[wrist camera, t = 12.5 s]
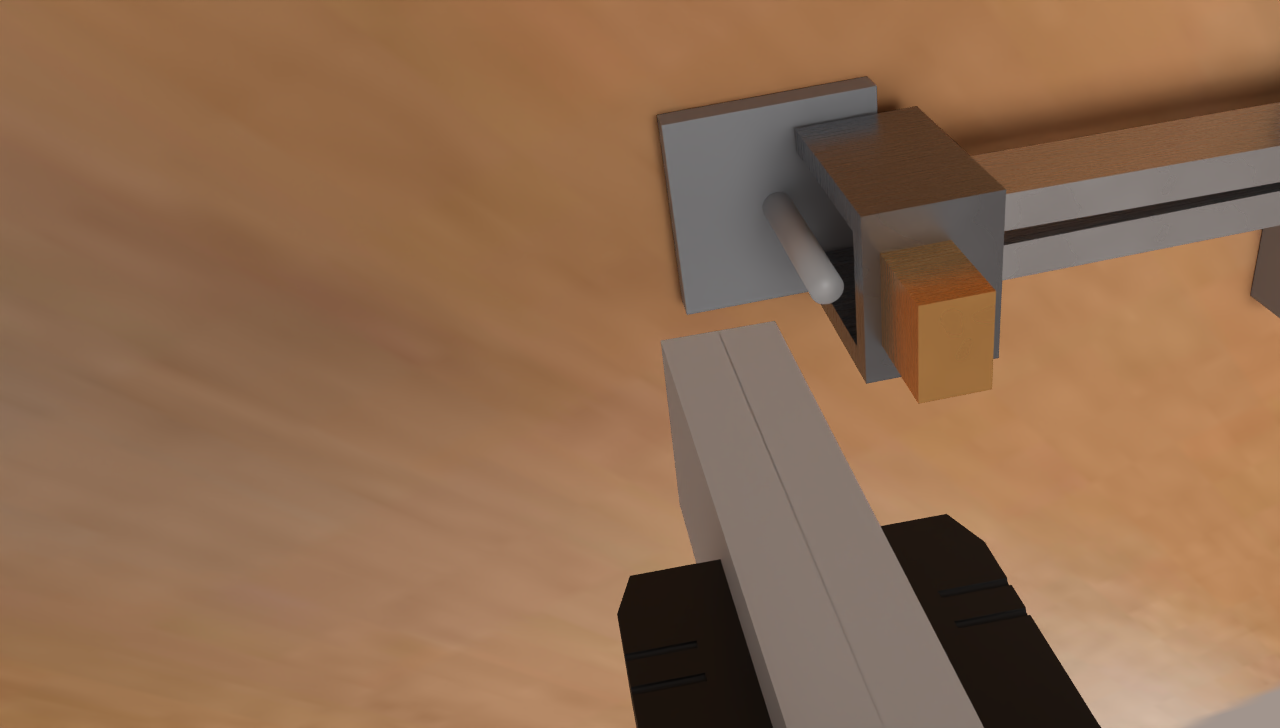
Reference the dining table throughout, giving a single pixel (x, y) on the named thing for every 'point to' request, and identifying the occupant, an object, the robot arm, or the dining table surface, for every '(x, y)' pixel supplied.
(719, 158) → the stand
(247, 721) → the dining table surface
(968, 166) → the collar
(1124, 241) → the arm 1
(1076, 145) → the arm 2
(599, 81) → the dining table surface
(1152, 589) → the dining table surface
